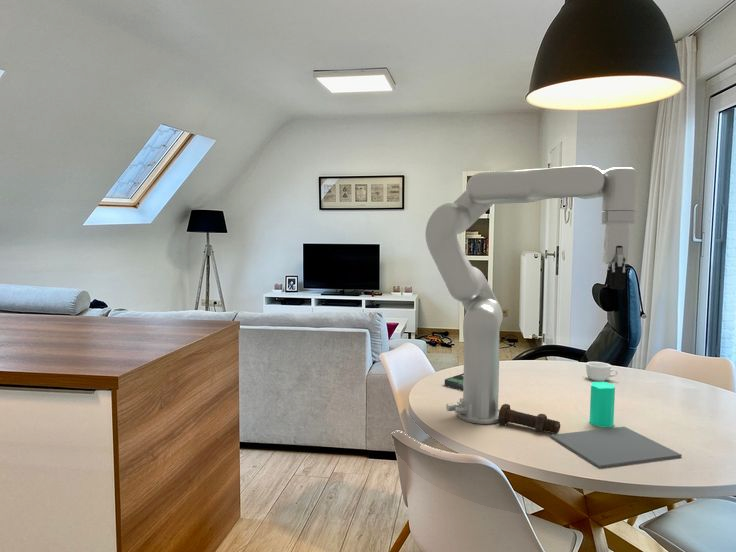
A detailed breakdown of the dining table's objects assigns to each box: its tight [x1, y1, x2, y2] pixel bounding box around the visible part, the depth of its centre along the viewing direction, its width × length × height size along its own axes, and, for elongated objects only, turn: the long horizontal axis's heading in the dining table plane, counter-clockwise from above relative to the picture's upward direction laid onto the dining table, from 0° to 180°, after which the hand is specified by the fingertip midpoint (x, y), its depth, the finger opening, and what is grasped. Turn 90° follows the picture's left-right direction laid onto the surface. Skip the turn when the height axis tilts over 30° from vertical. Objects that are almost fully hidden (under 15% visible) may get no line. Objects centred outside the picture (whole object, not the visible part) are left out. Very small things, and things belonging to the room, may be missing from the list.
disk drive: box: [444, 372, 464, 391], centre depth 179 cm, size 10×3×15 cm
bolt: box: [498, 403, 561, 434], centre depth 139 cm, size 6×5×15 cm
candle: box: [589, 379, 616, 428], centre depth 143 cm, size 6×6×12 cm
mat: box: [549, 426, 683, 469], centre depth 128 cm, size 22×18×1 cm
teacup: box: [585, 361, 618, 382], centre depth 184 cm, size 10×8×5 cm
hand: (615, 287), depth 134 cm, fingers open, 9 cm apart
